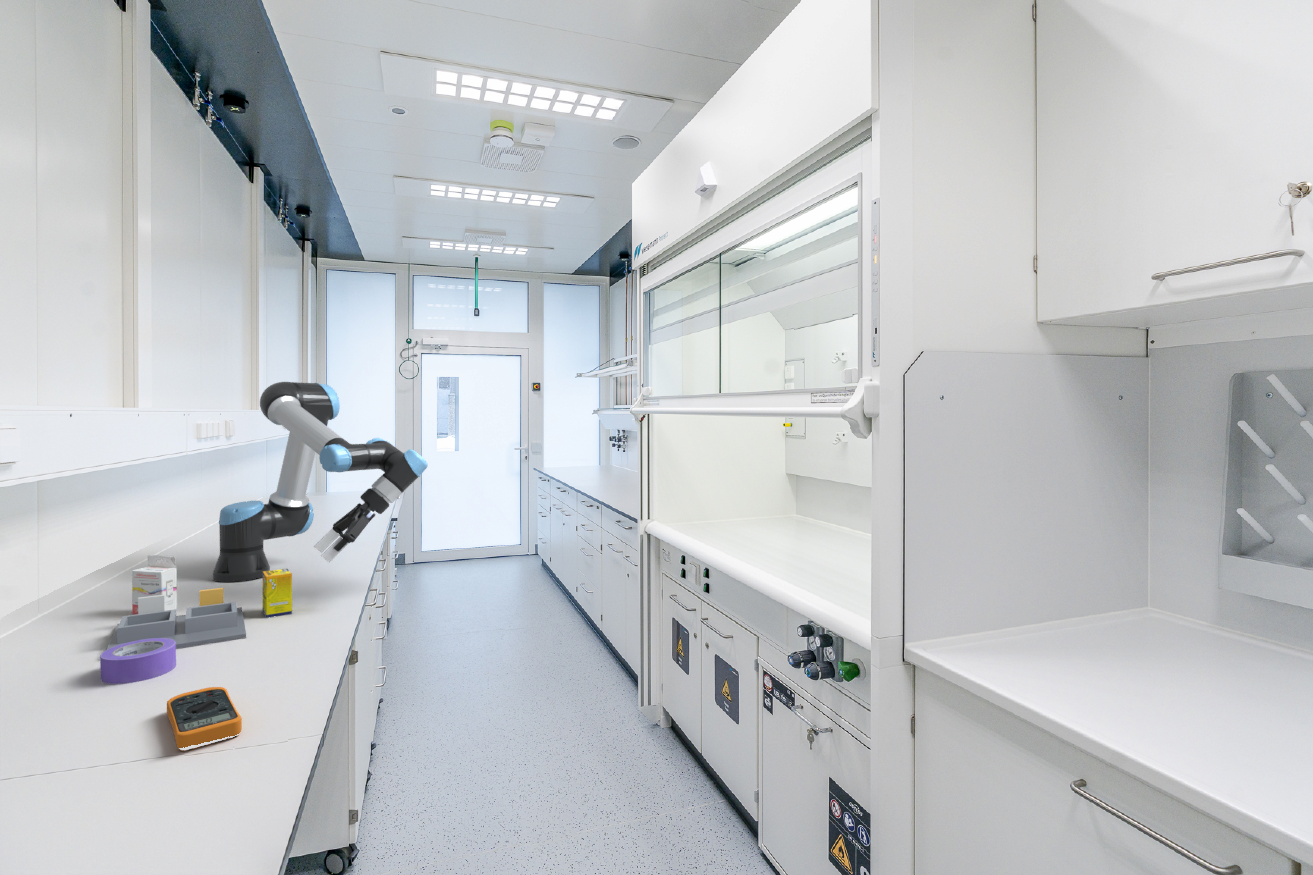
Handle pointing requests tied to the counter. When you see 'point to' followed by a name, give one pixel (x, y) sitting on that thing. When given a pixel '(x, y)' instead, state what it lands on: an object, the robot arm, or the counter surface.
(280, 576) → the supplement box
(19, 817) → the counter surface
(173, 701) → the multimeter
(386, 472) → the robot arm
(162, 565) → the ink cartridge box
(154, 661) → the tape roll
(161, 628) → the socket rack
